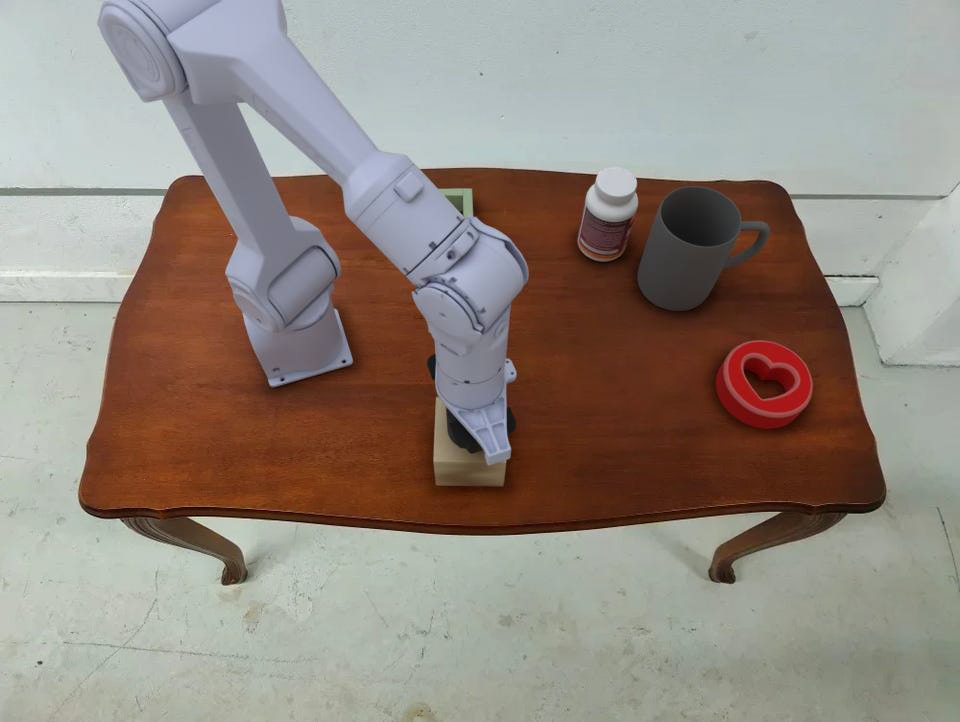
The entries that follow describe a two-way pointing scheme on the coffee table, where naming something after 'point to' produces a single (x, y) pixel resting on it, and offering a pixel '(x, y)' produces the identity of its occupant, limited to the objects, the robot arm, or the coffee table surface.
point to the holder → (460, 199)
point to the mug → (693, 247)
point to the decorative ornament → (767, 365)
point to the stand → (461, 459)
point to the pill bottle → (608, 214)
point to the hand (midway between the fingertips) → (470, 425)
